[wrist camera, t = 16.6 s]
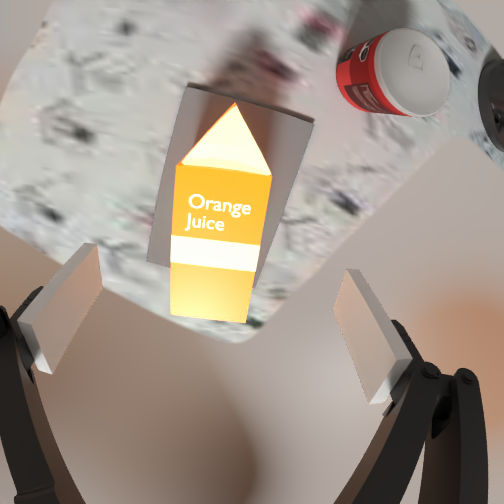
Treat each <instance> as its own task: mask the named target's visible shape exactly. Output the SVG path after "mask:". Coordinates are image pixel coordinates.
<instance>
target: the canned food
mask: <svg viewBox="0 0 504 504" xmlns="http://www.w3.org/2000/svg"><path fill="white" fill-rule="evenodd" d="M336 80H337V84H338V87H339V90H340V92H341V93H342V95H343V96H344V98H345V99H346V100H347V101H348V102H349V103H350V104H351V105H353V106H354V107H355V108H357V109H359V110H362V111H365V112H373V113H384V114H393V115H402V116H410V117H428V116H431V115H434V114H435V113H437V112H438V111H440V110H441V109H442V107H443V106H444V105H445V103H446V101H447V100H448V97H449V94H450V88H451V75H450V69H449V66H448V63H447V60H446V58H445V56H444V54H443V52H442V51H441V49H440V48H439V46H438V45H437V44H436V43H435V42H434V41H433V40H432V39H431V38H430V37H429V36H427V35H426V34H424V33H423V32H421V31H419V30H416V29H412V28H399V29H394V30H391V31H388V32H386V33H383V34H381V35H379V36H376V37H374V38H372V39H370V40H367V41H365V42H363V43H361V44H359V45H357V46H355V47H353V48H351V49H349V50H347V51H346V52H345V53H344V54H343V55H342V57H341V58H340V60H339V63H338V65H337V70H336Z"/></svg>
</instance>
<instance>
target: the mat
mask: <svg viewBox="0 0 504 504" xmlns="http://www.w3.org/2000/svg"><path fill="white" fill-rule="evenodd" d="M234 103H236V106H237V107H238V109H239V112H240V114H241V116H242V118H243V120H244V122H245V124H246V125H247V127H248V129H249V130H250V132H251V134H252V136H253V138H254V140H255V142H256V144H257V146H258V148H259V150H260V151H261V153H262V155H263V158H264V160H265V162H266V164H267V166H268V168H269V170H270V172H271V175H272V180H271V186H270V192H269V197H268V203H267V208H266V214H265V219H264V225H263V230H262V236H261V241H260V250H259V255H258V261H257V266H256V271H255V274H254V280H253V285H252V288H255V286H256V283H257V281H258V278H259V275H260V273H261V270H262V267H263V265H264V262H265V259H266V257H267V254H268V251H269V249H270V246H271V243H272V241H273V238H274V235H275V232H276V230H277V227H278V224H279V222H280V219H281V216H282V213H283V211H284V208H285V205H286V202H287V200H288V197H289V194H290V191H291V189H292V186H293V183H294V180H295V177H296V175H297V172H298V169H299V166H300V164H301V161H302V158H303V155H304V152H305V150H306V147H307V144H308V141H309V138H310V135H311V133H312V130H313V127H314V124H312V123H309V122H307V121H304V120H301V119H298V118H296V117H293V116H290V115H287V114H284V113H281V112H278V111H275V110H272V109H269V108H266V107H262V106H259V105H256V104H252V103H249V102H245V101H242V100H238V99H235V98H231V97H227V96H223V95H220V94H216V93H211V92H207V91H203V90H199V89H194V88H190V87H186V88H185V91H184V94H183V98H182V101H181V104H180V108H179V111H178V115H177V118H176V122H175V126H174V129H173V133H172V137H171V141H170V145H169V149H168V153H167V157H166V161H165V165H164V170H163V174H162V179H161V183H160V188H159V193H158V198H157V202H156V208H155V213H154V218H153V224H152V229H151V235H150V241H149V247H148V253H147V260H146V261H147V262H151V263H154V264H158V265H162V266H166V267H170V268H171V235H172V223H173V205H174V190H175V177H176V169H175V168H176V165H177V164H178V163H179V162H181V161H182V160H183V159H184V158H185V157H186V155H187V154H188V153H189V152H190V151H191V150H192V149H193V147H194V146H195V145H196V144H197V143H198V142H199V141H200V140H201V138H202V137H203V136H204V135H205V134H206V133H207V132H208V131H209V130H210V129H211V127H212V126H213V125H214V124H215V123H216V122H217V121H218V120H219V119H220V118H221V117H222V116H223V115H224V114H225V113H226V112H227V111H228V109H229V108H230V107H231V106H232V105H233V104H234Z"/></svg>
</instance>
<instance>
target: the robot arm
mask: <svg viewBox="0 0 504 504" xmlns="http://www.w3.org/2000/svg"><path fill="white" fill-rule="evenodd" d="M479 107H480V113H481V118H482V121H483V125H484V127H485V130H486V132H487V135H488V137H489V138H490V140H491V141H492V143H493V144H494V145H495V147H496V148H498V149H499V150H500V151H502V152H504V59H497V60H492V61H490V62H489V63H488V64H487V65H486V66H485V68H484V69H483V71H482V74H481V77H480V82H479ZM102 289H103V286H102V279H101V272H100V265H99V257H98V248H97V244H91V243H84V244H83V245H82V246H81V247H80V248H79V249H78V250H77V252H76V253H75V254H74V255H73V256H72V257H71V258H70V259H69V260H68V261H67V262H66V263H65V264H64V265H63V266H62V268H61V269H60V270H59V271H58V272H57V273H56V274H55V275H54V277H53V278H52V279H51V280H50V281H49V282H48V283H47V285H46V286H45V287H43V286H40V287H39V288H37V289H36V290H34V291H33V292H32V293H31V294H30V295H29V296H28V297H27V300H25V301H24V302H23V303H22V305H21V306H20V307H19V308H18V309H17V311H16V312H15V313H14V314H13V315H12V317H11V318H10V319H9V317H8V315H7V312H6V309H5V308H4V307H3V306H0V437H1V441H2V445H3V448H4V453H5V456H6V459H7V463H8V466H9V469H10V472H11V475H12V478H13V481H14V484H15V487H16V490H17V495H16V496H15V497H14V503H15V504H86V503H85V502H84V500H83V498H82V496H81V494H80V493H79V491H78V489H77V487H76V485H75V483H74V481H73V479H72V477H71V475H70V473H69V471H68V469H67V466H66V464H65V462H64V460H63V458H62V455H61V453H60V451H59V448H58V446H57V443H56V441H55V438H54V436H53V433H52V431H51V428H50V425H49V422H48V420H47V417H46V414H45V411H44V408H43V405H42V402H41V398H40V395H39V391H38V388H37V385H36V381H35V377H34V373H33V371H32V369H31V365H32V364H33V362H34V361H35V363H36V365H37V367H38V369H39V370H40V371H43V372H46V373H49V374H53V373H54V371H55V369H56V367H57V365H58V363H59V361H60V360H61V358H62V356H63V354H64V352H65V350H66V349H67V347H68V345H69V343H70V341H71V340H72V338H73V336H74V334H75V333H76V331H77V329H78V328H79V326H80V324H81V323H82V321H83V319H84V318H85V316H86V314H87V313H88V311H89V309H90V308H91V306H92V304H93V303H94V301H95V300H96V298H97V297H98V295H99V293H100V292H101V290H102ZM333 312H334V314H335V317H336V319H337V322H338V324H339V327H340V329H341V332H342V334H343V337H344V339H345V342H346V345H347V347H348V350H349V352H350V355H351V357H352V360H353V362H354V365H355V368H356V371H357V373H358V376H359V379H360V381H361V384H362V387H363V390H364V393H365V395H366V398H367V401H368V404H374V403H382V402H384V401H385V400H386V398H387V397H388V396H389V394H390V395H391V397H392V400H393V401H392V402H391V403H390V405H389V406H388V407H387V409H386V410H385V411H384V413H383V414H382V415H383V416H384V418H383V420H382V422H381V424H380V426H379V428H378V430H377V432H376V434H375V436H374V437H373V439H372V441H371V443H370V445H369V447H368V449H367V451H366V452H365V454H364V456H363V458H362V459H361V461H360V463H359V465H358V466H357V468H356V470H355V471H354V473H353V475H352V476H351V478H350V479H349V481H348V483H347V484H346V486H345V487H344V489H343V490H342V492H341V493H340V495H339V496H338V498H337V499H336V501H335V502H334V504H400V501H401V499H402V497H403V495H404V493H405V491H406V489H407V486H408V484H409V482H410V479H411V477H412V474H413V472H414V469H415V467H416V464H417V461H418V459H419V456H420V454H421V451H422V448H423V445H424V442H425V452H424V462H423V472H422V480H421V487H420V494H419V500H418V504H488V454H487V440H486V429H485V421H484V412H483V406H482V399H481V393H480V387H479V382H478V379H477V377H476V375H475V374H474V373H473V372H472V371H471V370H469V369H466V368H460V369H458V370H457V372H456V373H455V374H454V376H451V375H445V374H441V372H440V370H439V369H438V368H437V366H435V365H434V364H432V363H430V362H424V360H423V359H422V357H421V355H420V354H419V352H418V350H417V348H416V347H415V345H414V344H413V342H411V338H410V337H409V336H408V334H407V332H406V330H405V329H404V327H403V326H402V325H401V324H400V323H399V322H398V321H396V320H390V318H389V317H388V315H387V313H386V312H385V310H384V308H383V307H382V305H381V304H380V302H379V300H378V299H377V297H376V296H375V294H374V293H373V291H372V289H371V288H370V286H369V284H368V283H367V281H366V280H365V278H364V277H363V275H362V274H361V272H360V271H359V270H353V269H346V272H345V275H344V278H343V282H342V284H341V288H340V291H339V294H338V297H337V300H336V303H335V306H334V309H333Z"/></svg>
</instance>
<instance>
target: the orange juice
mask: <svg viewBox="0 0 504 504" xmlns="http://www.w3.org/2000/svg"><path fill="white" fill-rule="evenodd" d="M175 169H176V177H175V190H174V205H173V223H172V235H171V314H172V315H180V316H188V317H196V318H204V319H213V320H222V321H232V322H242V323H246V317H247V312H248V307H249V301H250V296H251V290H252V285H253V280H254V274H255V271H256V266H257V261H258V255H259V250H260V241H261V236H262V230H263V225H264V219H265V214H266V208H267V203H268V197H269V192H270V186H271V180H272V175H271V172H270V170H269V168H268V166H267V164H266V162H265V160H264V158H263V155H262V153H261V151H260V150H259V148H258V146H257V144H256V142H255V140H254V138H253V136H252V134H251V132H250V130H249V129H248V127H247V125H246V124H245V122H244V120H243V118H242V116H241V114H240V112H239V109H238V107H237V106H236V103H234V104H233V105H232V106H231V107H230V108H229V109H228V111H227V112H226V113H225V114H224V115H223V116H222V117H221V118H220V119H219V120H218V121H217V122H216V123H215V124H214V125H213V126H212V127H211V129H210V130H209V131H208V132H207V133H206V134H205V135H204V136H203V137H202V138H201V140H200V141H199V142H198V143H197V144H196V145H195V146H194V147H193V149H192V150H191V151H190V152H189V153H188V154H187V155H186V157H185V158H184V159H183V160H182V161H181V162H179V163H178V164H177V165H176V168H175Z"/></svg>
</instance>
